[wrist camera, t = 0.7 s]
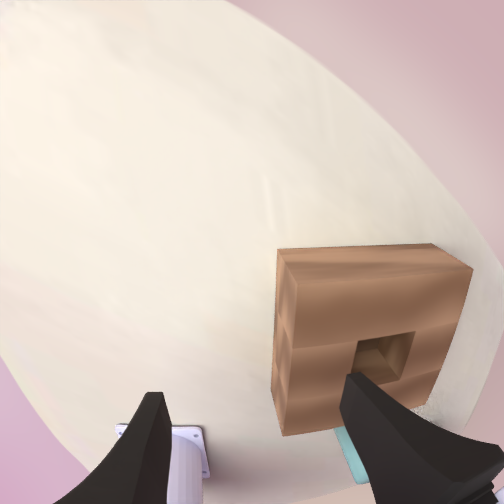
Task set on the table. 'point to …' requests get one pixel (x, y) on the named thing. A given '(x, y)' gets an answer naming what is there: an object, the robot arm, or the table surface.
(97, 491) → the robot arm
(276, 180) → the table surface
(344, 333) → the socket block
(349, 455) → the teal peg
